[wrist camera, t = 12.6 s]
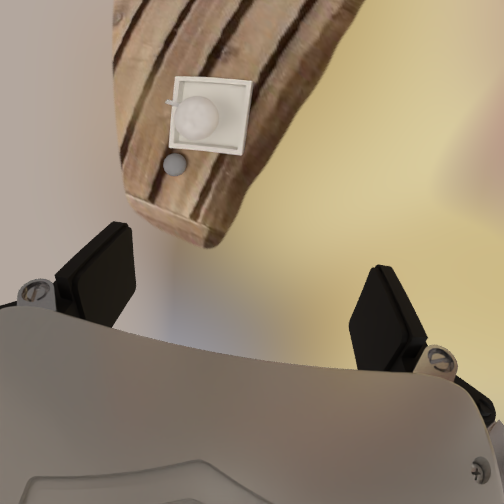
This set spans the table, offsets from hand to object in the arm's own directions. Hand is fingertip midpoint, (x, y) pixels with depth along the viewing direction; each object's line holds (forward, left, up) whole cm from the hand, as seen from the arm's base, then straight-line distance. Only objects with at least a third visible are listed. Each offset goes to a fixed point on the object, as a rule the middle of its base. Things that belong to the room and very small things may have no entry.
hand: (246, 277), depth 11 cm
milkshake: (-4, -8, -28) cm, 29 cm away
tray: (-4, -8, -28) cm, 30 cm away
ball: (+3, -12, -28) cm, 31 cm away
